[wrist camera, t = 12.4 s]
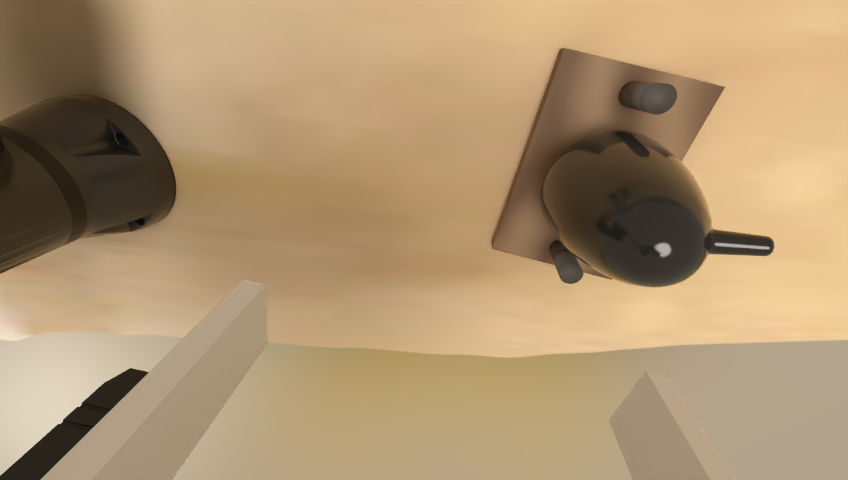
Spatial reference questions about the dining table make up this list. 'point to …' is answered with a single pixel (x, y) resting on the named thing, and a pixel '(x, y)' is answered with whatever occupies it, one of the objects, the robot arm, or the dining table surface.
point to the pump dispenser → (634, 211)
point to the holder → (587, 114)
